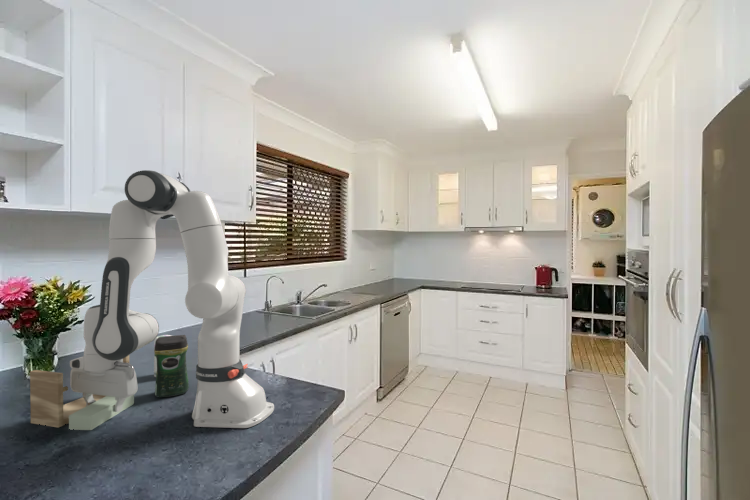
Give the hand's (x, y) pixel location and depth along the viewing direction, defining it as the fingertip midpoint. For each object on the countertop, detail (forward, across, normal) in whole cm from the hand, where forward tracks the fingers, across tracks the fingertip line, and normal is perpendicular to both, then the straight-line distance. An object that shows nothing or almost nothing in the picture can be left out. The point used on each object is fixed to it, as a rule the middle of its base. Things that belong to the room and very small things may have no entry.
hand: (104, 409), depth 104 cm
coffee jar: (+2, -6, -18) cm, 19 cm away
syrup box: (+2, +9, -31) cm, 32 cm away
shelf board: (+2, 0, 0) cm, 2 cm away
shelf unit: (+2, +10, -2) cm, 10 cm away
